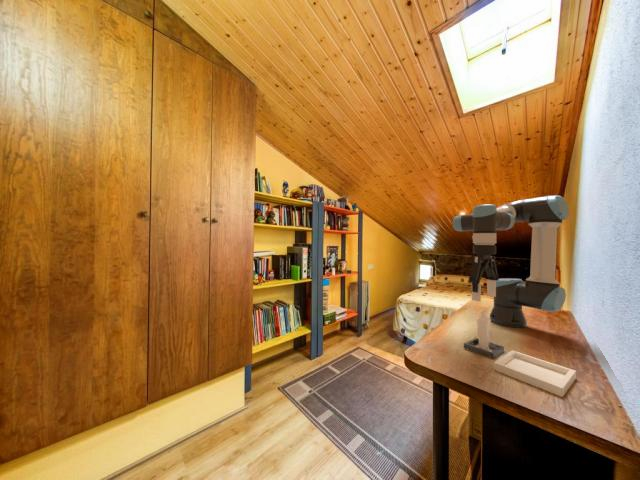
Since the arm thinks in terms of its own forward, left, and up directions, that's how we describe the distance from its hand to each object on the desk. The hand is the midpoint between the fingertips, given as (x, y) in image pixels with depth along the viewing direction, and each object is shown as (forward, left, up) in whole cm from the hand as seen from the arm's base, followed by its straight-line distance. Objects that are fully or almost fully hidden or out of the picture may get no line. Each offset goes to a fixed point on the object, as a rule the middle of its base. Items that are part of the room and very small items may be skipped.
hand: (484, 298), depth 90 cm
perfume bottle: (0, 0, -20) cm, 21 cm away
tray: (+5, +16, -20) cm, 26 cm away
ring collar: (0, 0, -20) cm, 20 cm away
